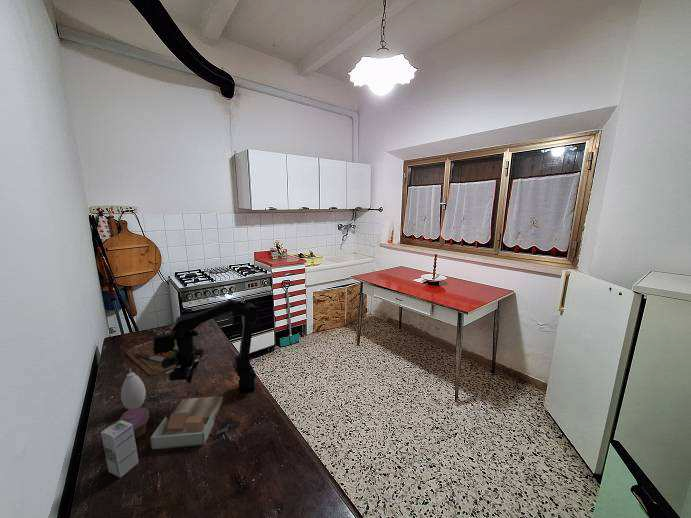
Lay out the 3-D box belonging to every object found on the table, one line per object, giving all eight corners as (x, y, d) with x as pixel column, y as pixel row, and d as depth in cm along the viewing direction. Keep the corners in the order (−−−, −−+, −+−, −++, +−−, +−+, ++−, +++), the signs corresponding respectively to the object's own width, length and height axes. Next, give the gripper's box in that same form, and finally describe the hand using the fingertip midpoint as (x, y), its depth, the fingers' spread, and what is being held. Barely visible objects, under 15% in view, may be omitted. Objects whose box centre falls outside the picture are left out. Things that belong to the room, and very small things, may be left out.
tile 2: (202, 416, 99) (198, 422, 96) (204, 427, 100) (200, 434, 97) (189, 416, 99) (184, 422, 96) (190, 428, 100) (185, 434, 97)
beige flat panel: (223, 401, 115) (222, 396, 114) (213, 422, 103) (212, 416, 103) (183, 404, 113) (182, 399, 113) (168, 426, 101) (167, 420, 101)
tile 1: (188, 414, 103) (185, 412, 101) (184, 429, 99) (181, 427, 97) (174, 415, 102) (171, 413, 100) (169, 431, 99) (166, 428, 96)
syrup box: (139, 462, 87) (133, 422, 84) (119, 479, 81) (112, 437, 79) (127, 457, 89) (121, 418, 86) (106, 473, 83) (99, 432, 81)
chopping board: (208, 356, 151) (208, 351, 151) (153, 380, 130) (152, 374, 129) (173, 335, 177) (173, 331, 177) (122, 352, 156) (122, 347, 155)
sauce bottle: (145, 398, 116) (140, 360, 113) (148, 408, 111) (143, 368, 108) (122, 407, 111) (116, 367, 108) (124, 418, 105) (118, 376, 102)
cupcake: (127, 450, 91) (123, 423, 90) (115, 439, 95) (111, 414, 94) (155, 431, 99) (152, 407, 97) (143, 422, 103) (140, 399, 101)
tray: (214, 423, 103) (213, 413, 102) (204, 444, 93) (203, 433, 93) (166, 427, 101) (165, 417, 100) (151, 449, 91) (150, 438, 91)
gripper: (175, 337, 116) (179, 371, 118) (150, 361, 97) (156, 400, 100) (202, 336, 117) (205, 369, 120) (183, 359, 99) (188, 397, 102)
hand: (189, 382), depth 110 cm, fingers closed
